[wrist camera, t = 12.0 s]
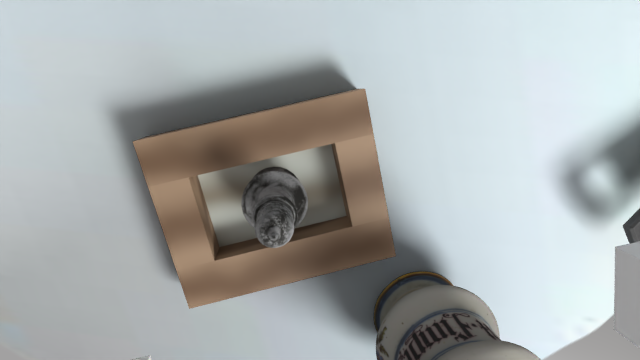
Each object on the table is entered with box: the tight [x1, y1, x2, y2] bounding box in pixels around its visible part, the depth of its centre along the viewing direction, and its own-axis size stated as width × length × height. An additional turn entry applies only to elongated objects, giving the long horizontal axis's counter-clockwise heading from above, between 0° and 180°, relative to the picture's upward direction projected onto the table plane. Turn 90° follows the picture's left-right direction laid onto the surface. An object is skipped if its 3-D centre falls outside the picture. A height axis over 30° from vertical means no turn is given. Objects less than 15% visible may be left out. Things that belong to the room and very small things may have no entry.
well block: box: [133, 89, 396, 309], centre depth 36 cm, size 16×20×4 cm
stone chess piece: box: [241, 167, 308, 248], centre depth 32 cm, size 6×6×12 cm
